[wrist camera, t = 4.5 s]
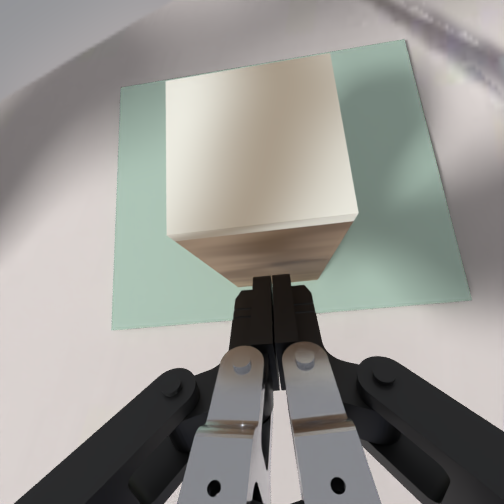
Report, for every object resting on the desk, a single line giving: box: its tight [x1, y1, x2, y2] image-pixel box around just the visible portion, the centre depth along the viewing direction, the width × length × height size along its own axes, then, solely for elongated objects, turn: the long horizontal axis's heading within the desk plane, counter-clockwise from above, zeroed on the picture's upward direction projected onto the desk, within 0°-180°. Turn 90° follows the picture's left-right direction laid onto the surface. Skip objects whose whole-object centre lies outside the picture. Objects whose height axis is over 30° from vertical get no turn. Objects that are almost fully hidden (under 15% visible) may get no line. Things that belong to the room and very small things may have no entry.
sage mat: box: [111, 39, 472, 330], centre depth 21 cm, size 22×19×1 cm
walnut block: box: [166, 53, 359, 287], centre depth 14 cm, size 5×5×11 cm
